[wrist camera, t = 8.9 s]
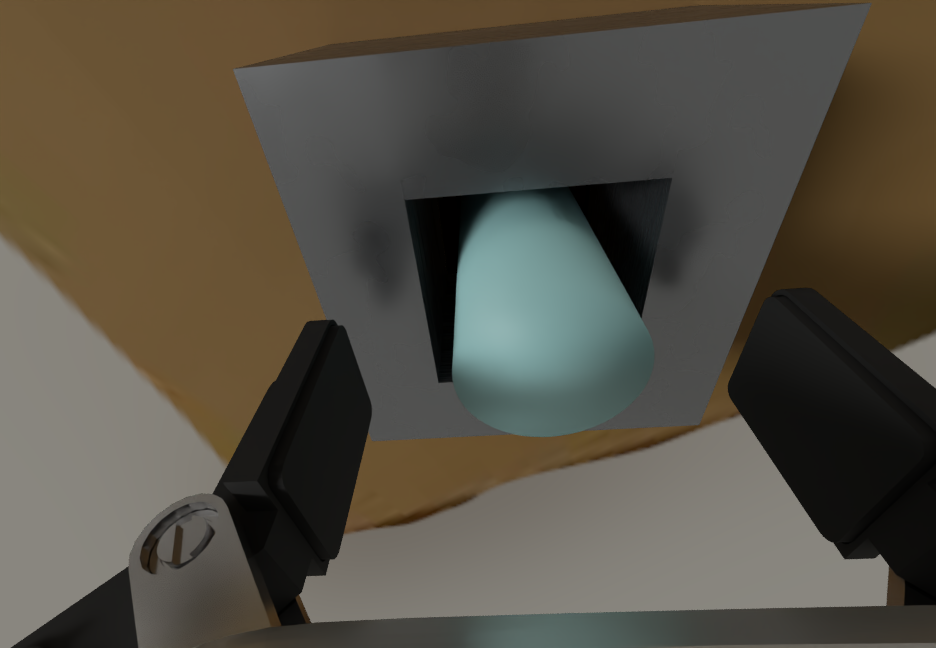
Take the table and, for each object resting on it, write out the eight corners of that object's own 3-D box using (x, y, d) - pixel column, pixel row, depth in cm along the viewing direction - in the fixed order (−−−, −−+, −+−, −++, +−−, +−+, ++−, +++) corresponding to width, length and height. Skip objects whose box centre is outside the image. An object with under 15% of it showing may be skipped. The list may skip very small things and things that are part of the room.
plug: (455, 153, 16) (440, 299, 8) (570, 143, 15) (675, 284, 8) (465, 255, 18) (461, 440, 10) (563, 248, 18) (635, 432, 10)
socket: (329, 44, 14) (232, 68, 8) (699, 5, 13) (871, 2, 7) (398, 326, 21) (372, 441, 15) (636, 310, 20) (699, 424, 15)
